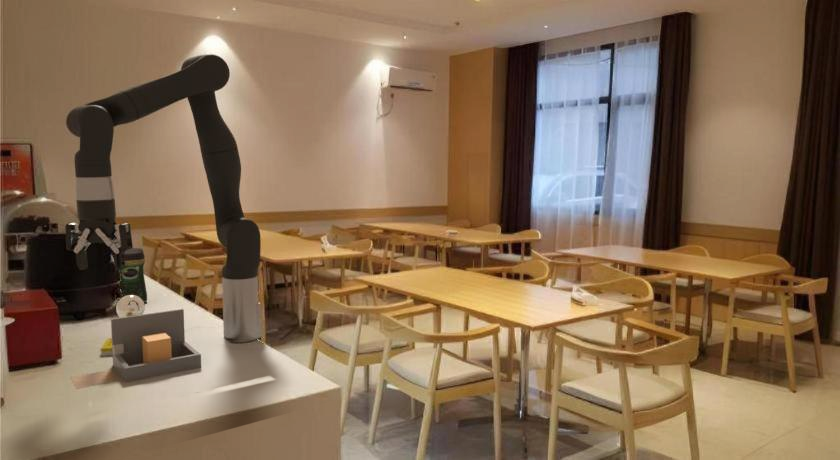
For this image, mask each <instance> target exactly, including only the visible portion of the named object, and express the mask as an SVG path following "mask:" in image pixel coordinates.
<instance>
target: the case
mask: <svg viewBox="0 0 840 460" xmlns="http://www.w3.org/2000/svg"><path fill="white" fill-rule="evenodd" d="M184 310H185V309H184V308H180V309H171V310H165V311H158V312H153V313H152V312H151V313H150V312H149V313H143V314H142V315H135V316H128V317H121V318H120V317H116V318H110V327H111V328H110V329H111V330H110V331H111V338H112V353H113V355H112V366H113V367H114V369H115V370H116V371H117V373H118V374H119V375H120V376H121V378H122V379H123V380H124V382H125V383H129V382H135V381H139V380H143V379H144V380H145V379H149V378H153V377H158V376H159V377H160V376H163V375H168V374H169V375H170V374H174V373H178V372H183V371H184V372H185V371H188V370H192V369H198V368H201V367H202V354H201V353H200V352H199V351H197V350H196V349H195V348H194V347H192V346H191V345H190V343H188V342H187V341H185V338H186V337H185V315H184V314H185V311H184ZM160 333H166V334H167V335H168V336H169V337H170V338H171V352H172V358H171V359H166V360H160V361H155V362H149V363H144V364H143V346H142V336H148V335H154V334H160Z"/></svg>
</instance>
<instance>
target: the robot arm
mask: <svg viewBox="0 0 840 460" xmlns="http://www.w3.org/2000/svg"><path fill="white" fill-rule="evenodd" d="M230 73H231V72H230V68H229V65H228V64H227V62H226V61H225V59H223V58H222V57H221V56H219V55H217V54H213V53H203V54H199V55H195V56H191V57H188V58H187V59H185V60H184V62H182V65H181V68H180V70H179V71H177V72H173V73H171V74H168V75H166V76H162V77H159V78H154V79H152V80H148V81H145V82H142V83H140V84H138V83H137V84H136V85H134V86H131V87H128V88H126V89H123V90H120V91H118V92H115V93H114V94H111V95H110V96H108V97H105V98H101V99H98V100H94V101H91V102H88V103H84V104H82V105H79V106H76V107H74V108H73V109H72V110H70V111H69V112H68V113H67V115H66V120H65V124H66V128H67V129H68V131H69V132H70V133H71V135H74V136H75V137H77V138H79V149H78V151H77V152H75V154H74V161H73V162H74V171H75V189H74V190H75V191H74V192H75V201H76V215H77V219H78V220H79V223H77V222H71V223H66V224H65V249H66V250H67V251H72V252H74V253H75V260H76V266H77V268H78V270H82V271H83V270H87V269H88V267H89V264H88V262H89V261H88V252H87V249H88V248H89V246H90V245H91V244H95V243H97V244H105V245H106V246H107V247H109V248H110V249H111V250H112V251H113V260H114V263H113V265H114V270H115V271H116V270H121V269H123V267H124V266H125V255H124V253H125V251H127V250H130V249H132V248H134V247H133V239H132V237H133V236H132V231H131V224H130V223H129V222H125V223H121V224H117V222H116V217H117V211H116V199H115V197H116V196H115V186H114V182H113V177H112V176H113V175H112V163H111V153H112V148H113V141H114V140H113V139H114V132H115V131H114V127H115V128H116V127H117V126H121V125H126V124H130V123H133V122H136V121H138V120H140V119H143V118H144V117H147V116H150V115H151V114H153V113H156V112H158V111H160V110H162V109H164V108H166V107H169V106H171V105H173V104H175V103H177V102H179V101H182V100H185V99H187V101H188V104H189V107H190V110H191V113H192V116H193V117H192V119H193V121H194V126H195V131H196V135H197V139H198V143H199V150H200V154H201V160H202V163H203V169H204V171H205V175H206V180H207V183H208V188H209V191H210V195H211V199H212V200H211V201H212V205H213V211H214V220H215V230H216V235H217V239H218V241H219V243H220V245H222V246H223V247H224V248H225V249H226V261H225V262H226V263H225V264H224V265H223V266H222V268H221V277H222V278H221V280H222V281H221V282H222V286H221V287H222V289H221V290H222V318H223V322H222V323H223V325H222V326H223V339H224V340H226V341H227V342H229V343H238V344H239V343H248V342H252V341H255V340H257V339H260V338H262V337H263V335H262V329H263V328H262V304H261V302H259V290H258V289H259V282H258V281H259V280H258V279H259V278H258V272H259V271H258V270H259V267H260V264H261V249H262V248H261V244H262V243H261V242H262V241H261V232H260V229H259V226H258V224H257V223H256V222H255V221H253V220H252V219H250V218H246V217H245V215H244V211H243V207H242V203H241V198H240V186H241V177H242V164H241V163H242V161H241V158H240V153H239V148H238V145H237V141H236V139H235V136H234V134H233V133H232V131H231V130H230V128H229V126H228V125H227V123H226V122H225V120H224V118H223V116H222V115H221V112H220V110H219V106H218V103H217V98H216V97H217V96H216V92H217V91H219V90H221V89H223V88H224V87H226V85H228V82H229V79H230ZM79 232H80V233H81V236H79ZM116 233H118V234H119V236H118V235H117V234H116ZM79 237H80V238H79ZM114 253H116V254H114Z"/></svg>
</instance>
